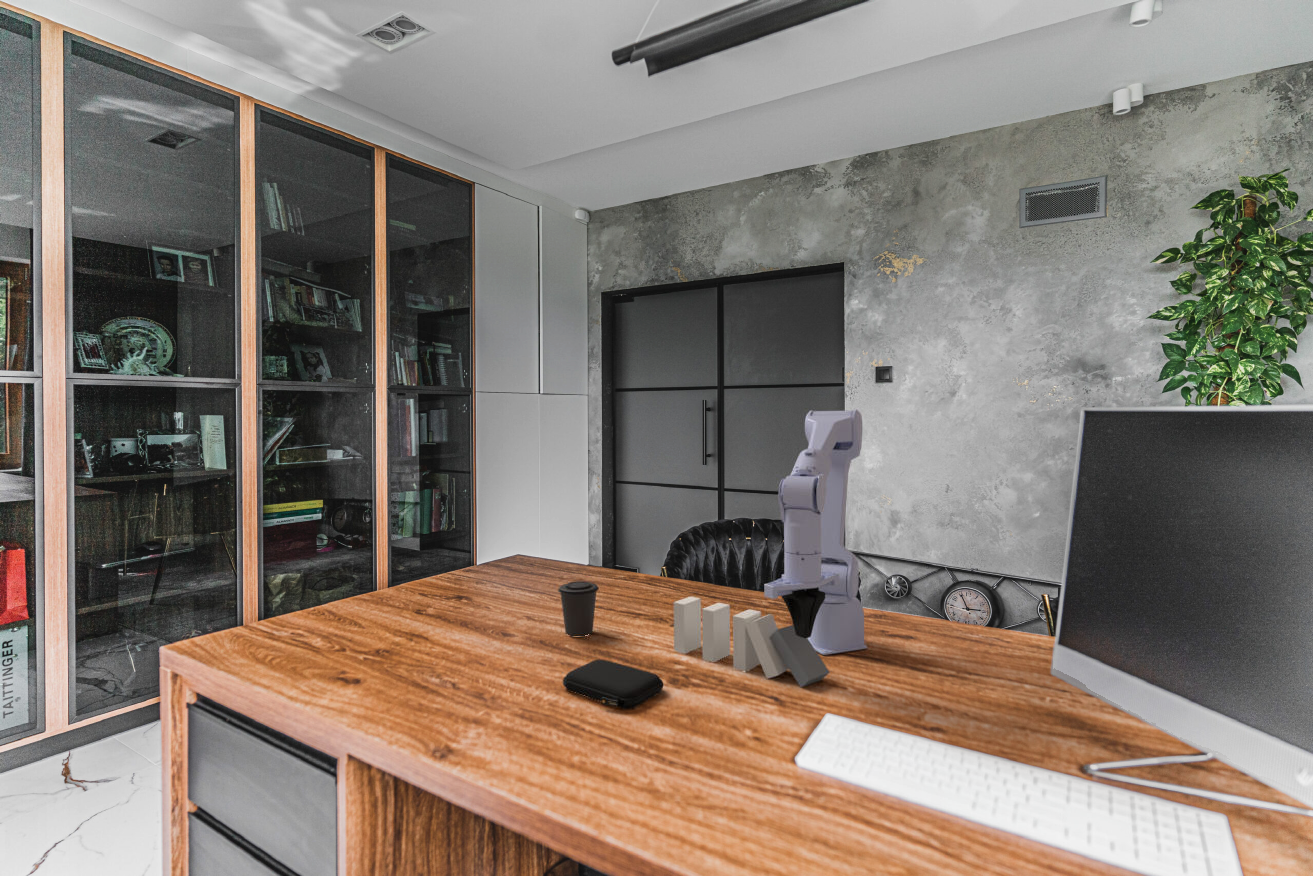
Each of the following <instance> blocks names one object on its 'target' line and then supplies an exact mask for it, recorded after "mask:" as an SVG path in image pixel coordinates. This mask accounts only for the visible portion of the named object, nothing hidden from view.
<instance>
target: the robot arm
mask: <svg viewBox="0 0 1313 876" xmlns="http://www.w3.org/2000/svg"><path fill="white" fill-rule="evenodd" d="M804 433H805V434H804V435H805V437H806V440H807V443H808V446H807V448H806V449H805V448H804V450H802V451H801V452H800V453H799V454H798V455H797V459H796V461H795V463H794V466H793V468H792V471H791V472H790V475H787V476H785V478H782V479H781V480H780V481H779V482H780V483H779V486H778V494H777V495H778V504H779V508H780V519H781V522H782V523H783V537H784V538H783V544H784V545H783V547H784V549H783V551H784V553H783V554H784V558H783V559H784V561H783V563H784V567H783V568H784V573H783V574H781V578H778V579H776V580H773V581H771V582H768V583H764V585H763V587H764V593H763V594H764V597H765V598H769V599H772V600H775V599H776V600H777V599H778V597H781V598H782V600H783V601H784V604H785V605H786V607H787V610H788V612H789V615H790V617H791V621H792V625H794V629H795V633H796V635H797V636H799V637H802V638H807V639H808V640H809V642H810V643H811V645H812V646H813V648H814V649H815V651H816V652H817V653H818V654H821V655H824V656H827V655H832V654H840V653H846V652H852V651H853V652H854V651H857V650H858V651H859V650H865V649H867V648H868V646H867V644H865V612H864V609H863V605H862V603H861V601H860V600H859V599H858V597H857V595H858V590H859V582H860V581H859V580H860V578H859V561H858V558H857V557H856V555H855V554H854V553H853V552H851V550H849V549H848V548H847V547H846V546H845V545H844V543H845V527H846V513H847V511H846V510H847V497H848V481H849V470H850V467H851V462H852V461H853V460H854V459H856V458H858V457H860V455H861V450H862V442H863V417H862V414H861V412H860V411H859V410H858V409H853V410H820V411H819V410H809V412H808V413H807V414H806V416H805V420H804Z"/></svg>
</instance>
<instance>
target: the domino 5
mask: <svg viewBox="0 0 1313 876" xmlns="http://www.w3.org/2000/svg"><path fill="white" fill-rule="evenodd" d="M770 639H771V641H772V642H773V644H774V645H775V647H776V649H777V650H778V652H779V653H780V655H781V657H782V658H783V660H784V661H785V663H786V665H787V666H788V668H789V669H788V670H789V672H790V673H791V674H792V676H793V678H794V679H795V682H797V684H798V686H799V687H800V688H801V687H802V688H804V687H806V686H808V685H812V684H815V683H817V682H820V681H822V680H823V679H825V677H827V676H828V675H829V674H830V671H829V669H828V668H827V665H826V664H825V663H824V661H823V659H822V658H821V657H820V655H819V653H818V652H817V651H816V650H815V649H814V648H813V646H812V645H811V643H810V642H809V640H808V639H807V638H802V637H799V636H797V635H796V633H795V629H794V625H793V624H792V625H788V626H785V627H781V628H778V629H777V630H776V631H775V632H774V633H773V634H772V635H771V637H770Z"/></svg>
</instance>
